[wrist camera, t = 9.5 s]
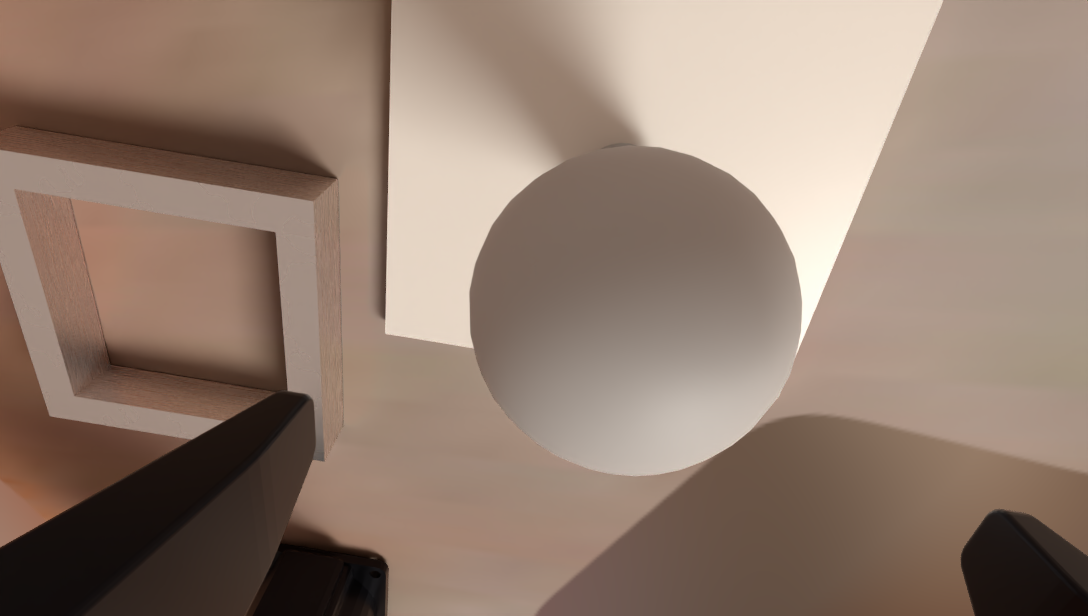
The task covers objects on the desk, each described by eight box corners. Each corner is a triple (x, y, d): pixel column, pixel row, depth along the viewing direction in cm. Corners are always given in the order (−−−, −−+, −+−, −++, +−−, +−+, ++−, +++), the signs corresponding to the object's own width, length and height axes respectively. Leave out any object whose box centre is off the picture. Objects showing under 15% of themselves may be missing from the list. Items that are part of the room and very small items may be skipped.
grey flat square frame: (343, 426, 26) (324, 461, 24) (86, 384, 26) (49, 416, 24) (337, 178, 21) (313, 201, 19) (15, 125, 21) (-39, 143, 19)
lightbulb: (711, 43, 17) (845, 174, 8) (737, 248, 20) (858, 529, 11) (492, 99, 18) (375, 272, 9) (546, 285, 21) (501, 568, 12)
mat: (774, 387, 23) (777, 398, 23) (390, 324, 23) (385, 333, 23) (953, -54, 16) (965, -53, 16) (401, -145, 16) (394, -148, 16)
